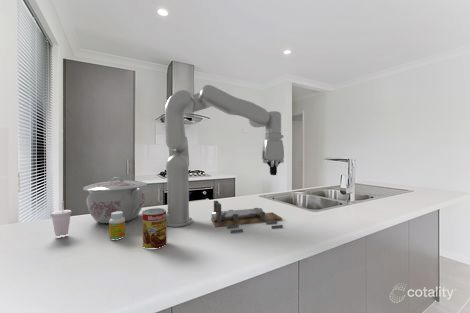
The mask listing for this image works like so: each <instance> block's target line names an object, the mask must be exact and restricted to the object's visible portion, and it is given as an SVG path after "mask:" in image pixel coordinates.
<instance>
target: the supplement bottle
mask: <svg viewBox="0 0 470 313" xmlns="http://www.w3.org/2000/svg"><path fill="white" fill-rule="evenodd" d="M122 216H123V212H121V211H117V212H113V213H111V217H112V218H111V219H110V220H109V224H108V229H109V231H108V233H109V235H108V237H109V238H110V239H119V238H122V237H124V236H125V237H126V222H125V218H124V217H122ZM109 238H108V239H109ZM110 239H109V240H110Z"/></svg>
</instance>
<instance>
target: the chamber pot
mask: <svg viewBox="0 0 470 313" xmlns="http://www.w3.org/2000/svg"><path fill="white" fill-rule="evenodd" d="M147 185H148V183H147V182H143V181H141V180H140V181H139V180H129V179H127V180H123V179H122V178H121V177H119V176H118V177H117V176H114V177H113V178H111V180H109V181H102V182H96V183H92V184H89V185H86V186H84V187H82V190H83V191H87V192H88V195H87V197H86V206H87V210H88V212H89V214H90V216H91V217H92V218H93V219H94V220H95V221H96V222H97V223H99V224H104V223H106V224H105V225H108V224H107V223H109V220H110V219H111V218H112V217H111V213H113V212H117V211H121V212H123V216H122V217H124V218H125V221H127V222H129V221H132V220H133V219H135V218H137V217H138V216H139V214H140V212H141V211H142V209H143V207H144V204H145V201H146V193H145V191H144V190H143V188H145V187H146V186H147Z"/></svg>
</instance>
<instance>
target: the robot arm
mask: <svg viewBox="0 0 470 313" xmlns="http://www.w3.org/2000/svg"><path fill="white" fill-rule="evenodd" d="M210 107H211V108H212V107H213V108H215V109H217V110H219V111H221V112H223V113H225V114H227V115H229V116H239V117H243V118H246V120H247V119H248V123H249V125H250V126H251V127H253V128H261V127H262V128H264V127H265V128H264V129H265V139H264V140H263V142H262V150H261V159H262V163H263V164H267V165H268V167H269V174H270V175H271V176H277V174H278V171H277V170H278V166H280V164H284V159H285V148H284V147H285V146H284V142H283V138H284V135H282V114H281V112H279V111H268V110H267V109H265V108H264V107H262V106H260V105H258V104H256V103H254V102H252V101H248V100H246V99H242V98H238V97H236V96H233V95H231V94H230V93H228V92H226V91H224V90H222V89H220V88H219V87H216V86H213V85H211V84H205V85H204V86H202V88H201V89H200V91H199V92H197V93H193V94H192V93H191V92H190V91H188V90H186V89H181V90H178V91H175V92H173V93H172V94H171V95H170V97H169V98H168V99H167V101H166V104H165V107H164V125H165V126H164V129H165V143H166V147H167V148H168V156H169V157H168V159H167V161H166V164H165V167H166V168H165V170H166V173H165V174H166V187H167V189H166V192H167V195H166V196H167V199H166V200H167V211H166V227H171V228H175V227H176V228H177V227H186V226H189V225H191V224H192V223H193V218H191V217H190V206H189V205H190V201H189V200H190V190H189V188H190V187H189V184H190V182H189V178H190V177H189V167H190V155H189V152H190V151H189V142H188V137H187V136H186V130H185V129H186V127H185V114H186V115H187V114H192V113H195V112H199V111H203V110H205V109H206V110H207V109H209V108H210Z"/></svg>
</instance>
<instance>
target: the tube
mask: <svg viewBox="0 0 470 313" xmlns="http://www.w3.org/2000/svg"><path fill="white" fill-rule="evenodd" d="M256 208H257V209H254V208H244V209H234V210H233V209H231V210H232V211H229V210H221V220H231V219H233V214H238V219H242V218H253V217H260V212H263V211H264V210H263V208H262V207H260V208H259V207H256ZM211 218H212V221H217V212H214V211H212V212H211ZM212 221H211V222H212Z"/></svg>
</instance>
